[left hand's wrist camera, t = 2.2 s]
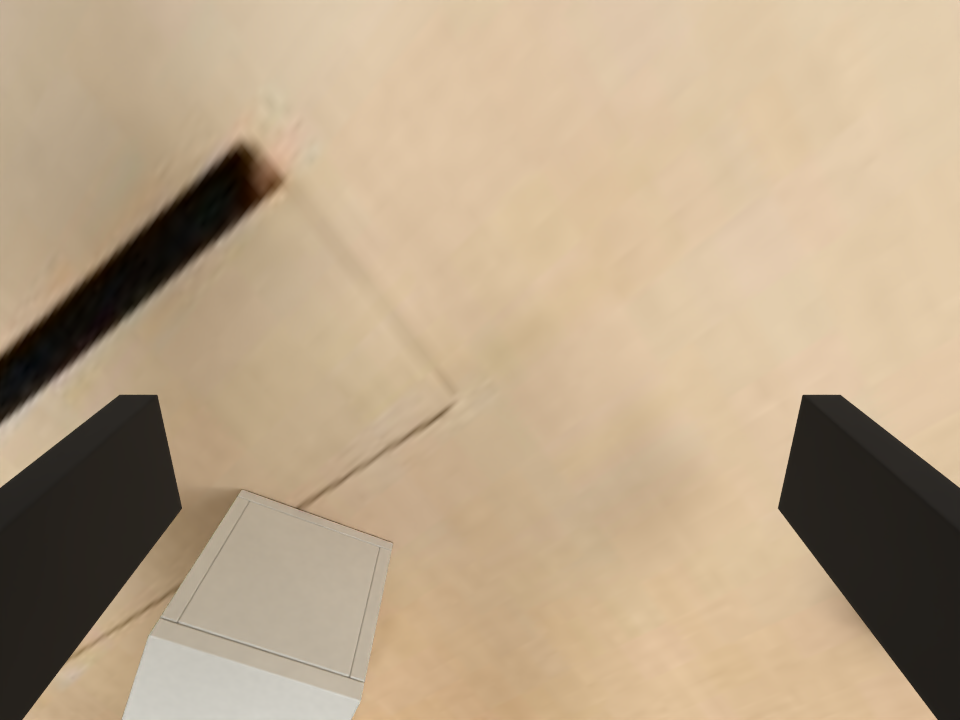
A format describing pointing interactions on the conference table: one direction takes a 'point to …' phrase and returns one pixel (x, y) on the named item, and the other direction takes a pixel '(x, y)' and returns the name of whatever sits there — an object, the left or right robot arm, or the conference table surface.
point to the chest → (287, 586)
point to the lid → (231, 682)
